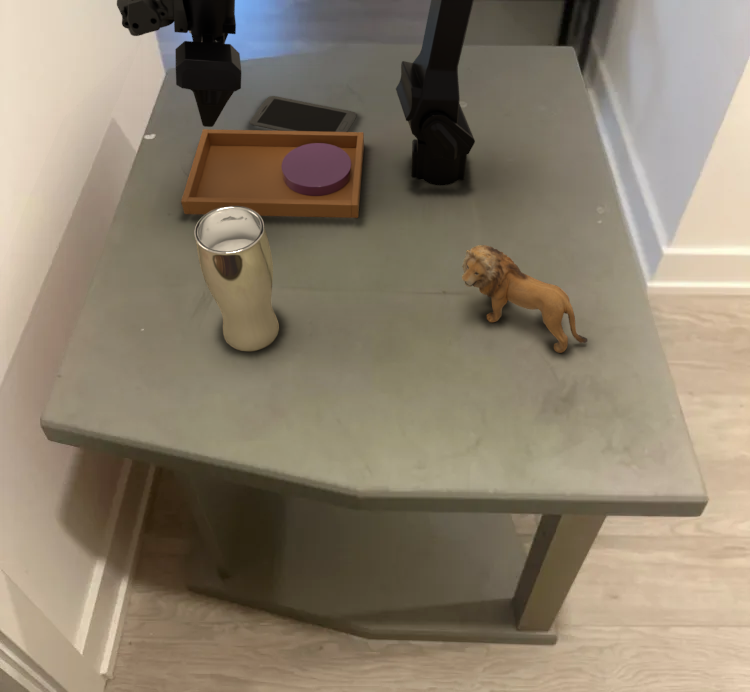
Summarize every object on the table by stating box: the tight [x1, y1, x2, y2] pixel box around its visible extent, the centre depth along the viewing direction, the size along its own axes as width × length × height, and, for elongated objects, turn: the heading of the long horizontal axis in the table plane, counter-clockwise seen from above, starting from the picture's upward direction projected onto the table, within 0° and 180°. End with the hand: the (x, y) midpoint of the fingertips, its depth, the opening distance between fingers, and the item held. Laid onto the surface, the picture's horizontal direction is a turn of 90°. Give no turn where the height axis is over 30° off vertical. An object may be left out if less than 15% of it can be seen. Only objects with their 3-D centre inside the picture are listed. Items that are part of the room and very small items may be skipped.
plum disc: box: [281, 143, 352, 196], centre depth 96 cm, size 9×9×2 cm
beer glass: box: [193, 206, 280, 352], centre depth 75 cm, size 7×7×15 cm
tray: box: [180, 128, 365, 219], centre depth 95 cm, size 22×15×3 cm
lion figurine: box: [461, 244, 588, 354], centre depth 78 cm, size 15×5×9 cm, turn 66°
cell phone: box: [249, 95, 358, 132], centre depth 104 cm, size 7×14×1 cm, turn 71°
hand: (206, 101), depth 83 cm, fingers open, 9 cm apart
